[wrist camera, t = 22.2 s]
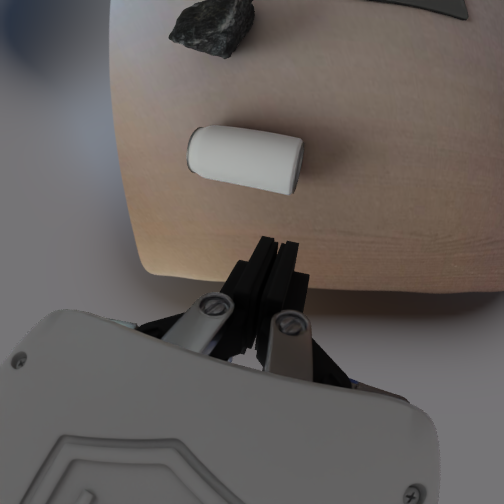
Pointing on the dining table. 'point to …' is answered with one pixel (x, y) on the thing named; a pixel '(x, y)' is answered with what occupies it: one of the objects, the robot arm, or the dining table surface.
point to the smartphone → (436, 6)
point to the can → (246, 157)
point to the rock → (214, 26)
